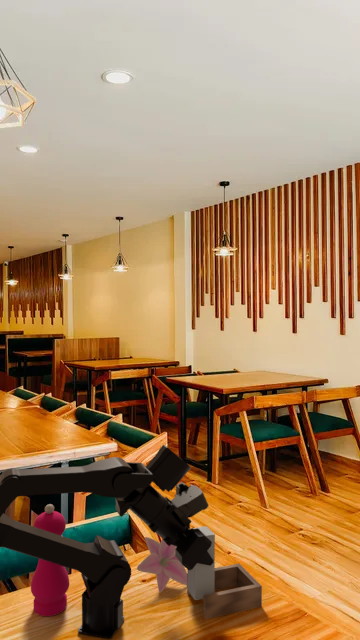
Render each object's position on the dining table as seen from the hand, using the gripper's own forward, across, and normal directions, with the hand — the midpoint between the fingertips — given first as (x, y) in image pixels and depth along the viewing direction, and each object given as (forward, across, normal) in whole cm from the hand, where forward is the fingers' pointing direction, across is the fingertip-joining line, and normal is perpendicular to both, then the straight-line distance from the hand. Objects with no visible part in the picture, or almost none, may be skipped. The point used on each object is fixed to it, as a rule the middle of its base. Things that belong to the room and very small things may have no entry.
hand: (207, 558), depth 102 cm
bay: (+9, 0, +4) cm, 10 cm away
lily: (+3, +11, +10) cm, 15 cm away
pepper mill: (-14, +10, +27) cm, 32 cm away
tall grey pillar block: (+4, 0, +6) cm, 7 cm away
